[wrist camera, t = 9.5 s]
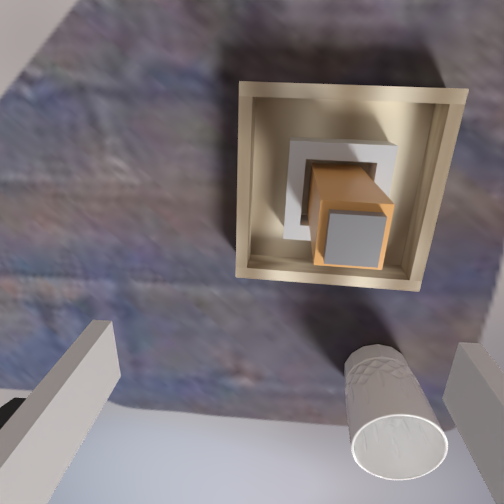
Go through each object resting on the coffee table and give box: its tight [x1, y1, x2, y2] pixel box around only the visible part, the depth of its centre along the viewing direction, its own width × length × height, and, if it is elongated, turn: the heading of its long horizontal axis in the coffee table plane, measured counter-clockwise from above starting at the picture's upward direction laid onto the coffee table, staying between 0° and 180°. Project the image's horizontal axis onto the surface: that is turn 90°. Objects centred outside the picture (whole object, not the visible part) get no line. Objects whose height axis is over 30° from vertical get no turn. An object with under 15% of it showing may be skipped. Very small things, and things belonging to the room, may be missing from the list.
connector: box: [307, 163, 395, 270], centre depth 26 cm, size 4×4×13 cm
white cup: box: [344, 344, 448, 480], centre depth 36 cm, size 8×8×10 cm
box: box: [236, 81, 469, 292], centre depth 31 cm, size 16×16×4 cm
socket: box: [283, 137, 398, 241], centre depth 31 cm, size 8×8×3 cm
